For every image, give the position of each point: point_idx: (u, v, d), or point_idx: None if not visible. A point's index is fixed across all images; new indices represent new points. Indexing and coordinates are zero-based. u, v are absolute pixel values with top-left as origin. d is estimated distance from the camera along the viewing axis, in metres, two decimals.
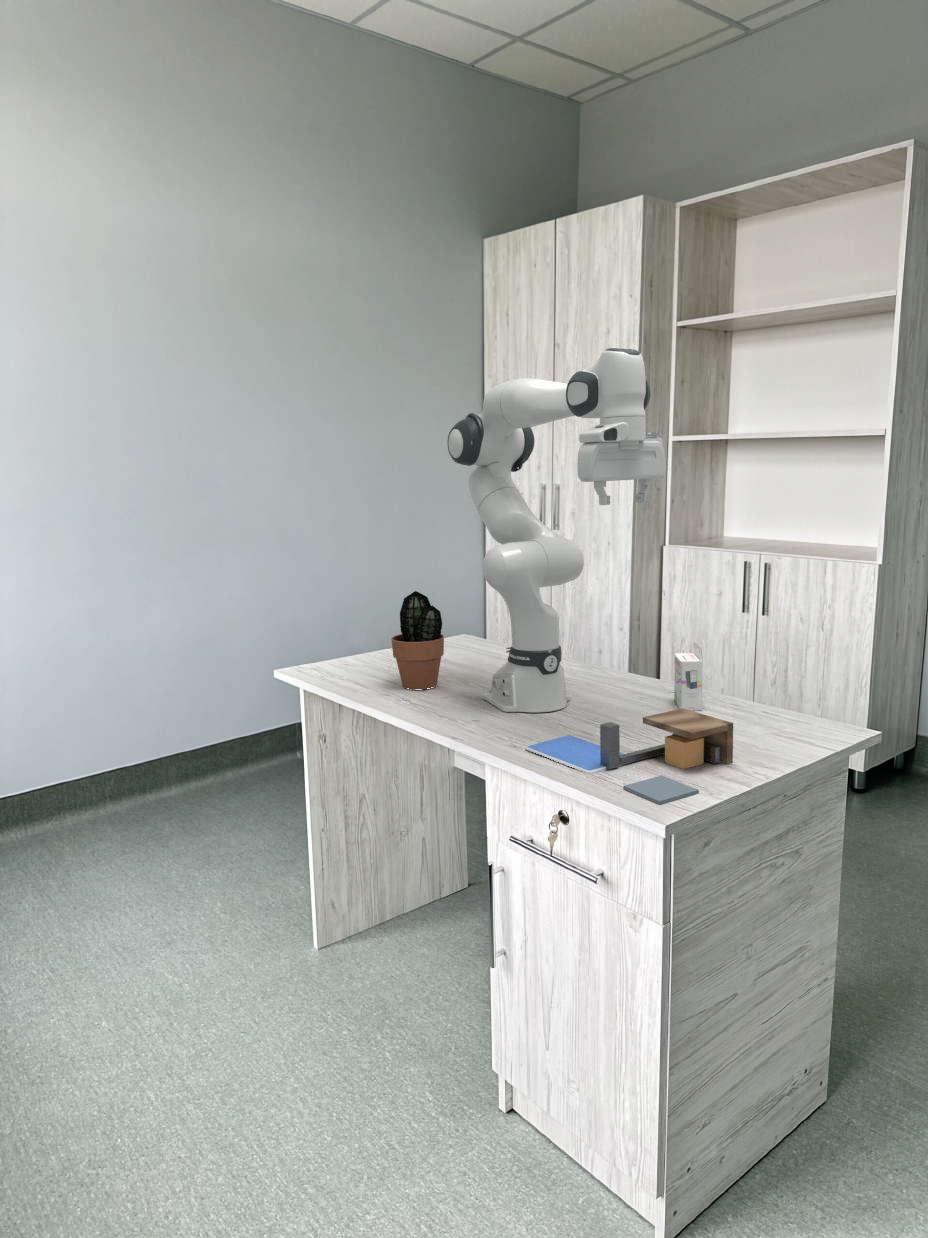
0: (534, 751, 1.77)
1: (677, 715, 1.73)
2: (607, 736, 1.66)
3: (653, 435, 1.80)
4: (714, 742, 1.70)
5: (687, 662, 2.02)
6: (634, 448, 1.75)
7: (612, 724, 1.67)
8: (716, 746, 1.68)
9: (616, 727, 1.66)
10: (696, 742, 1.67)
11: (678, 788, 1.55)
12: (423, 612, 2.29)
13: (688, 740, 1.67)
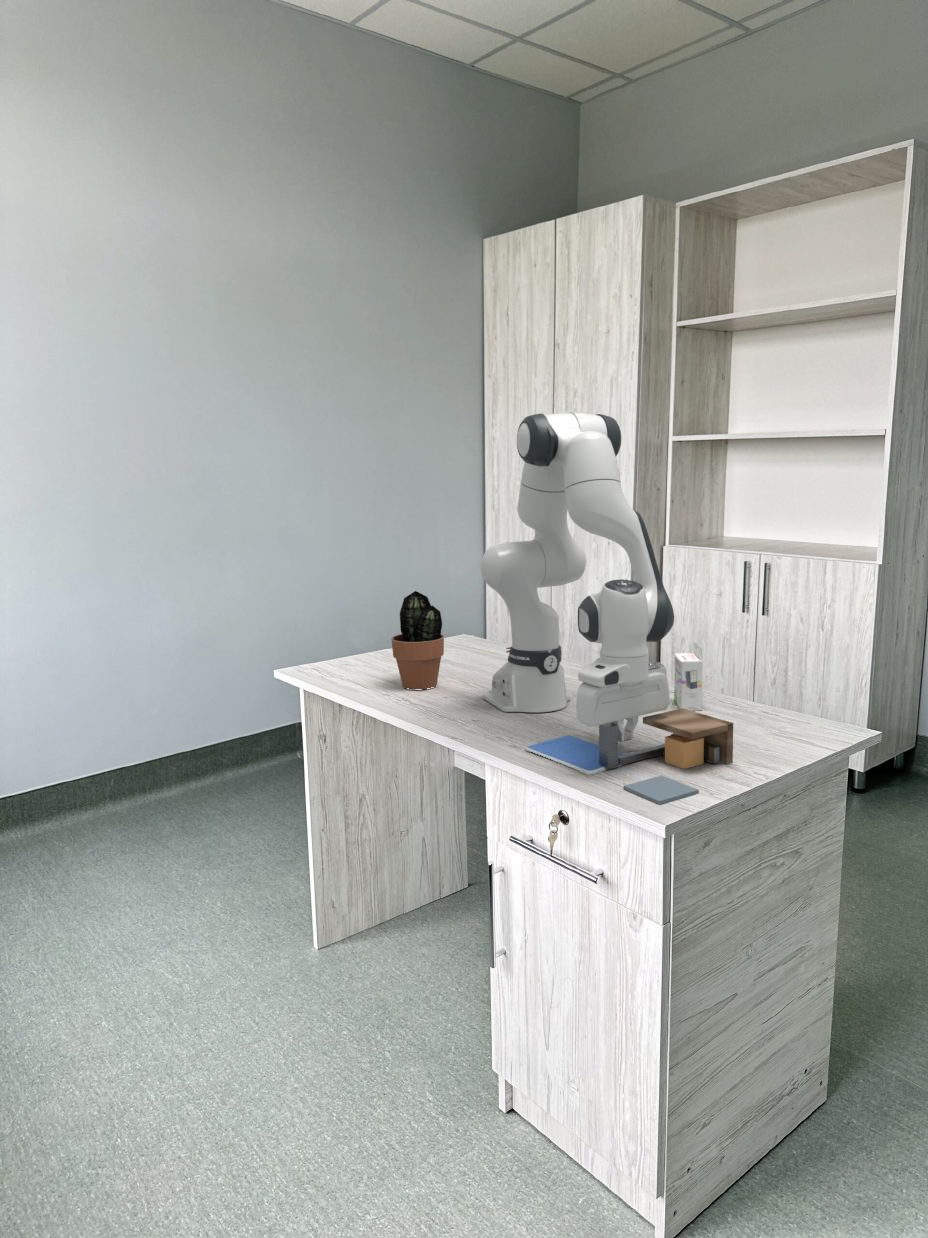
0: (534, 751, 1.77)
1: (677, 715, 1.73)
2: (605, 736, 1.66)
3: (656, 666, 1.70)
4: (714, 742, 1.70)
5: (687, 662, 2.02)
6: (636, 687, 1.65)
7: (611, 724, 1.67)
8: (715, 746, 1.68)
9: (615, 727, 1.66)
10: (696, 742, 1.67)
11: (678, 788, 1.55)
12: (423, 612, 2.29)
13: (688, 740, 1.67)
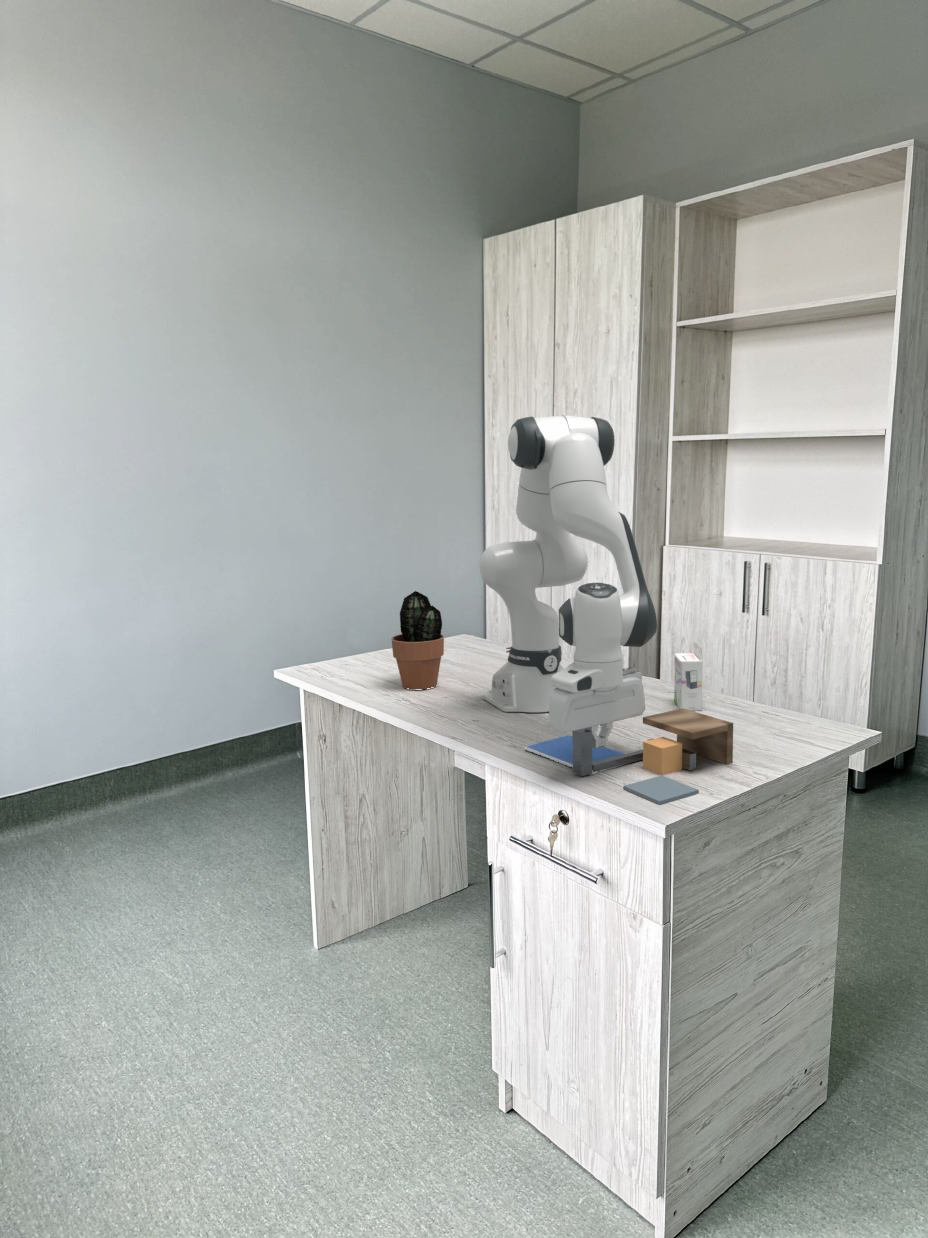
0: (534, 751, 1.77)
1: (677, 715, 1.73)
2: (579, 742, 1.62)
3: (631, 671, 1.67)
4: (714, 742, 1.70)
5: (687, 662, 2.02)
6: (610, 693, 1.62)
7: (585, 730, 1.63)
8: (691, 753, 1.65)
9: (588, 733, 1.63)
10: (675, 747, 1.64)
11: (678, 788, 1.55)
12: (423, 612, 2.29)
13: (666, 745, 1.64)
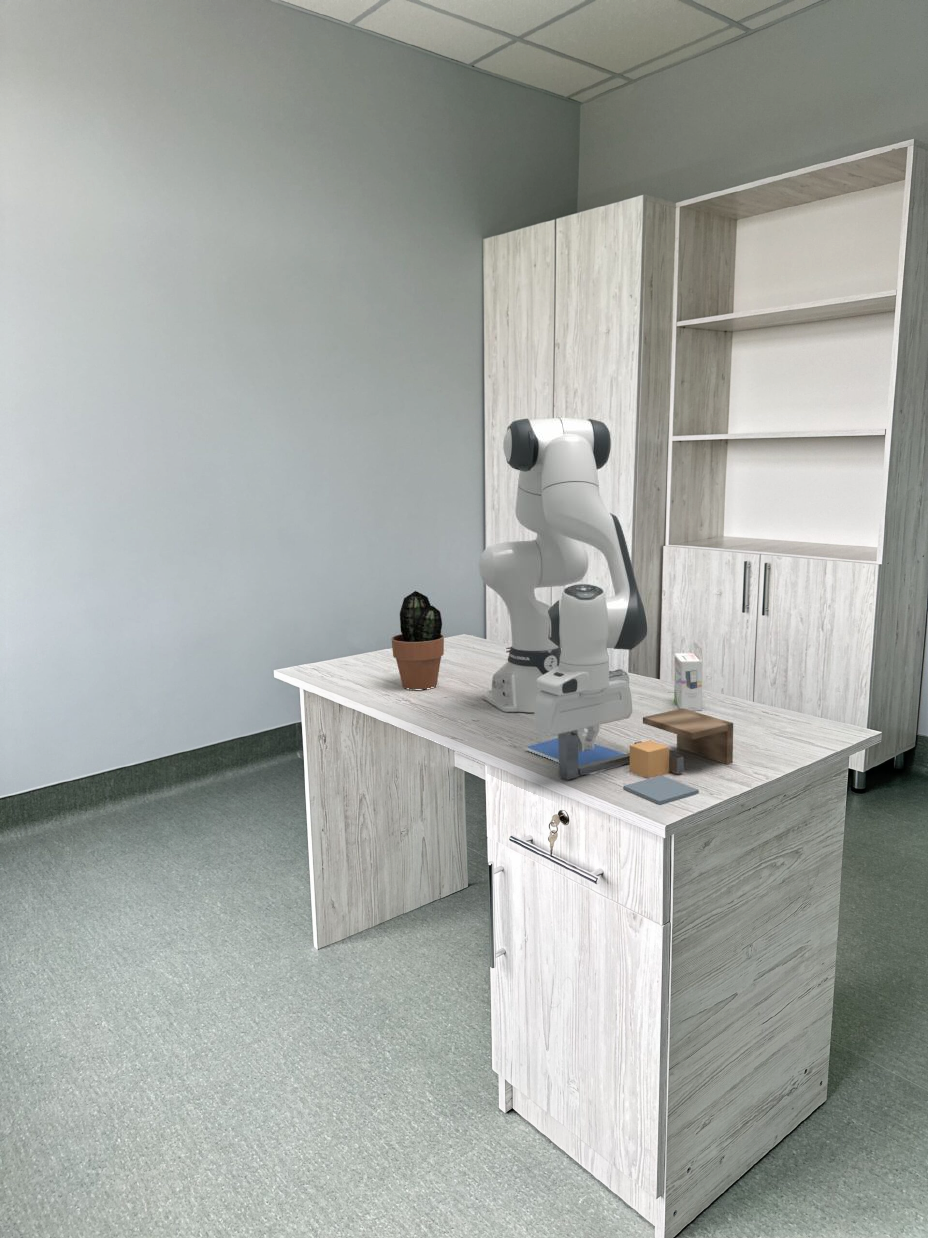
0: (534, 751, 1.77)
1: (677, 715, 1.73)
2: (565, 745, 1.61)
3: (618, 673, 1.65)
4: (714, 742, 1.70)
5: (687, 662, 2.02)
6: (596, 696, 1.60)
7: (571, 734, 1.62)
8: (678, 756, 1.63)
9: (574, 737, 1.61)
10: (661, 751, 1.63)
11: (678, 788, 1.55)
12: (423, 612, 2.29)
13: (653, 749, 1.62)
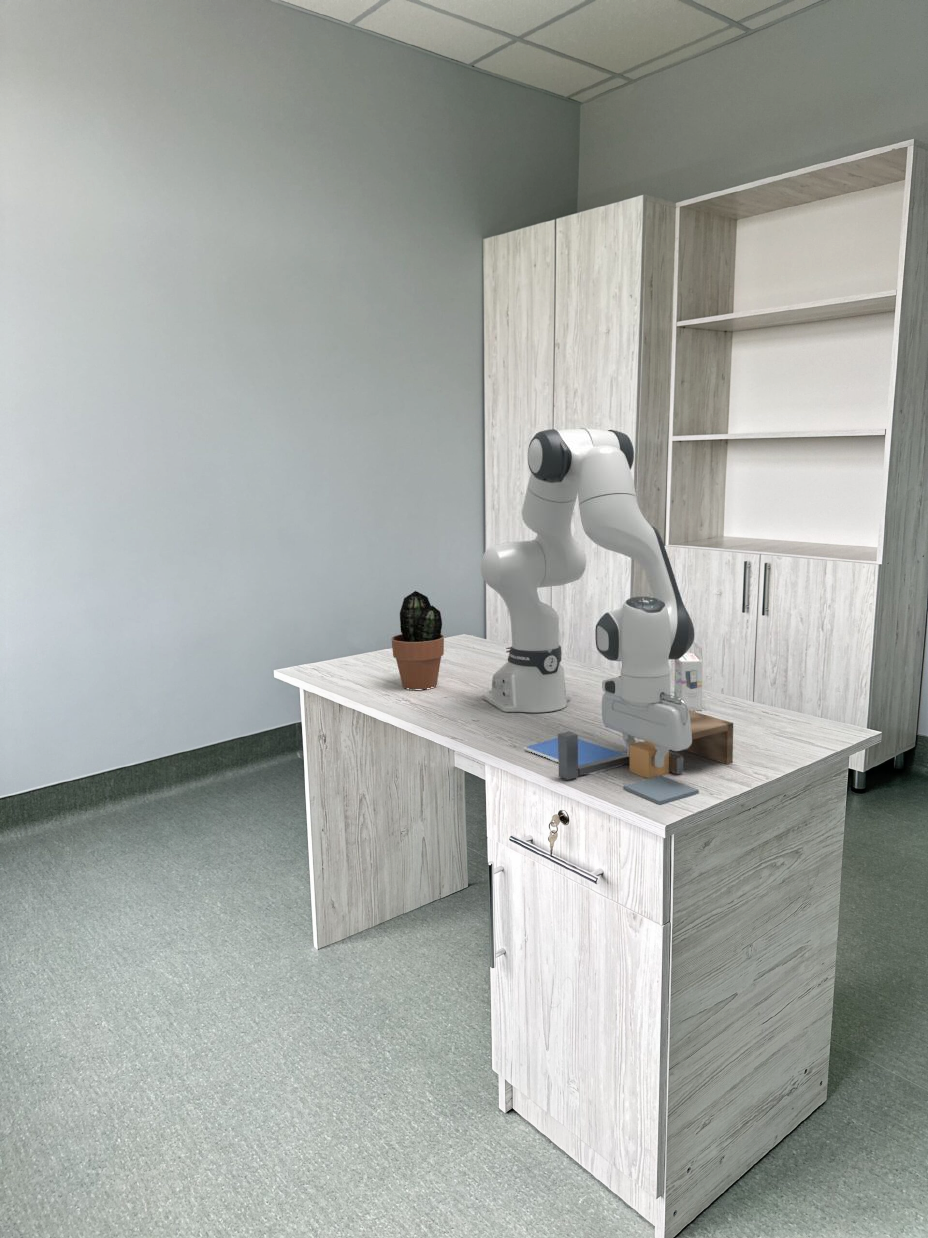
0: (533, 751, 1.77)
1: None
2: (564, 745, 1.61)
3: (673, 700, 1.55)
4: (714, 742, 1.70)
5: (687, 662, 2.02)
6: (633, 708, 1.61)
7: (570, 734, 1.62)
8: (678, 756, 1.63)
9: (574, 737, 1.61)
10: None
11: (678, 788, 1.55)
12: (423, 612, 2.29)
13: (653, 748, 1.62)
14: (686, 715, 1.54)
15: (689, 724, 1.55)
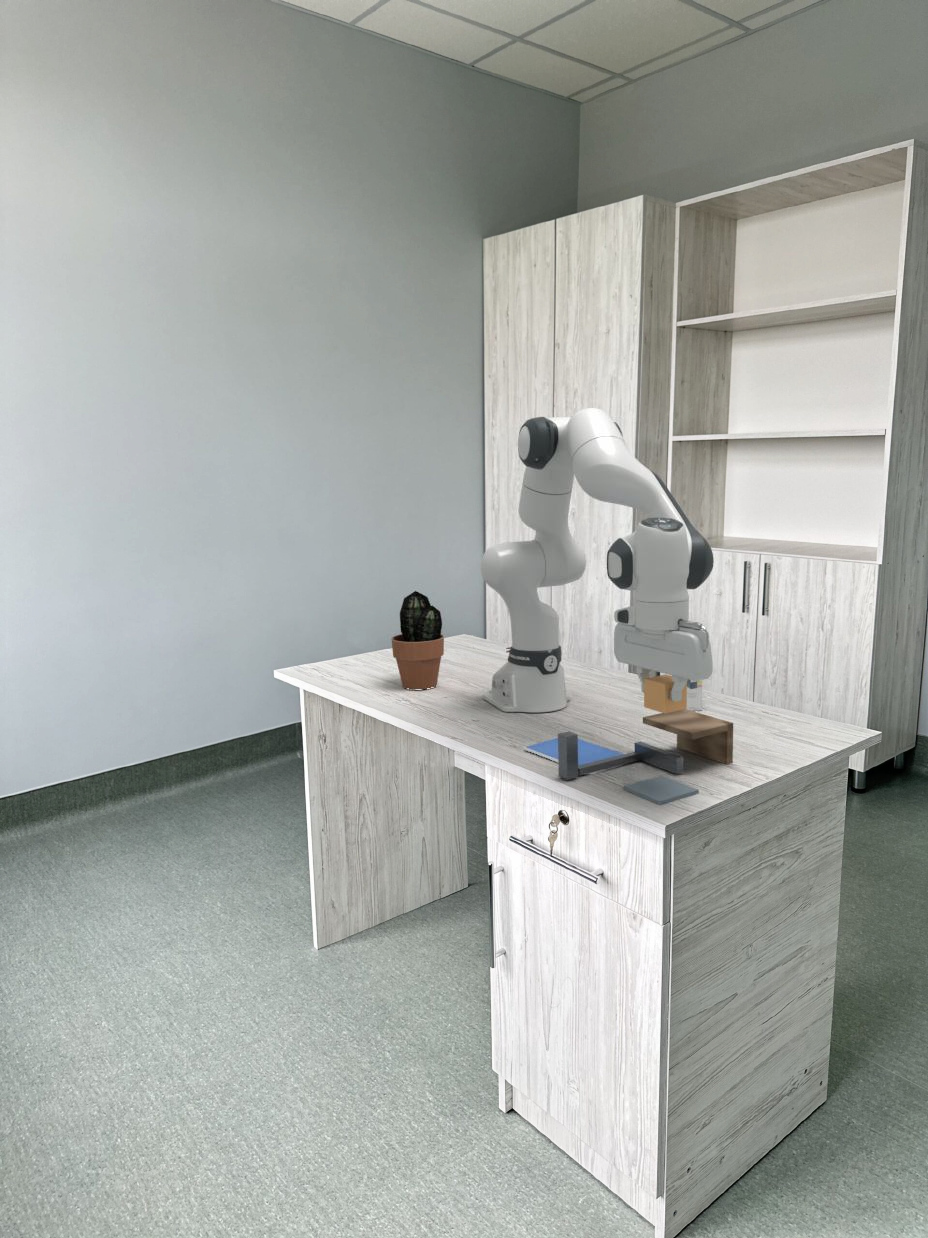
0: (533, 751, 1.77)
1: (677, 715, 1.73)
2: (564, 745, 1.61)
3: (692, 626, 1.44)
4: (714, 742, 1.70)
5: None
6: (648, 637, 1.49)
7: (570, 734, 1.62)
8: (678, 756, 1.63)
9: (574, 737, 1.61)
10: None
11: (678, 788, 1.55)
12: (423, 612, 2.29)
13: (669, 681, 1.51)
14: (706, 641, 1.42)
15: (710, 652, 1.43)
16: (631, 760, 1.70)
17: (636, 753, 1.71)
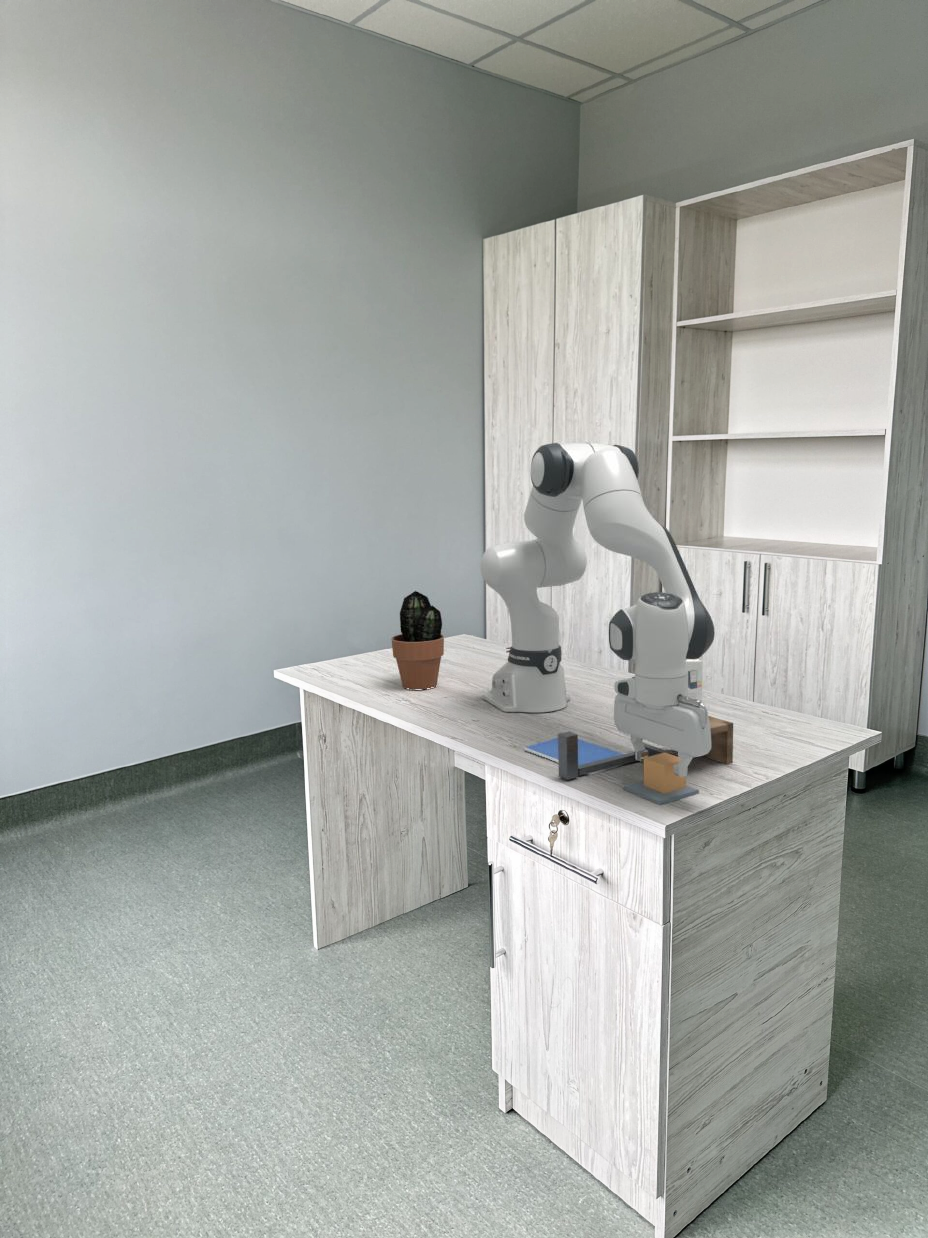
0: (533, 752, 1.77)
1: None
2: (564, 745, 1.61)
3: (691, 703, 1.46)
4: (714, 742, 1.70)
5: (687, 662, 2.02)
6: (648, 711, 1.51)
7: (570, 734, 1.62)
8: None
9: (574, 737, 1.61)
10: None
11: None
12: (423, 612, 2.29)
13: (669, 762, 1.53)
14: (705, 719, 1.44)
15: (708, 728, 1.46)
16: (631, 760, 1.70)
17: None
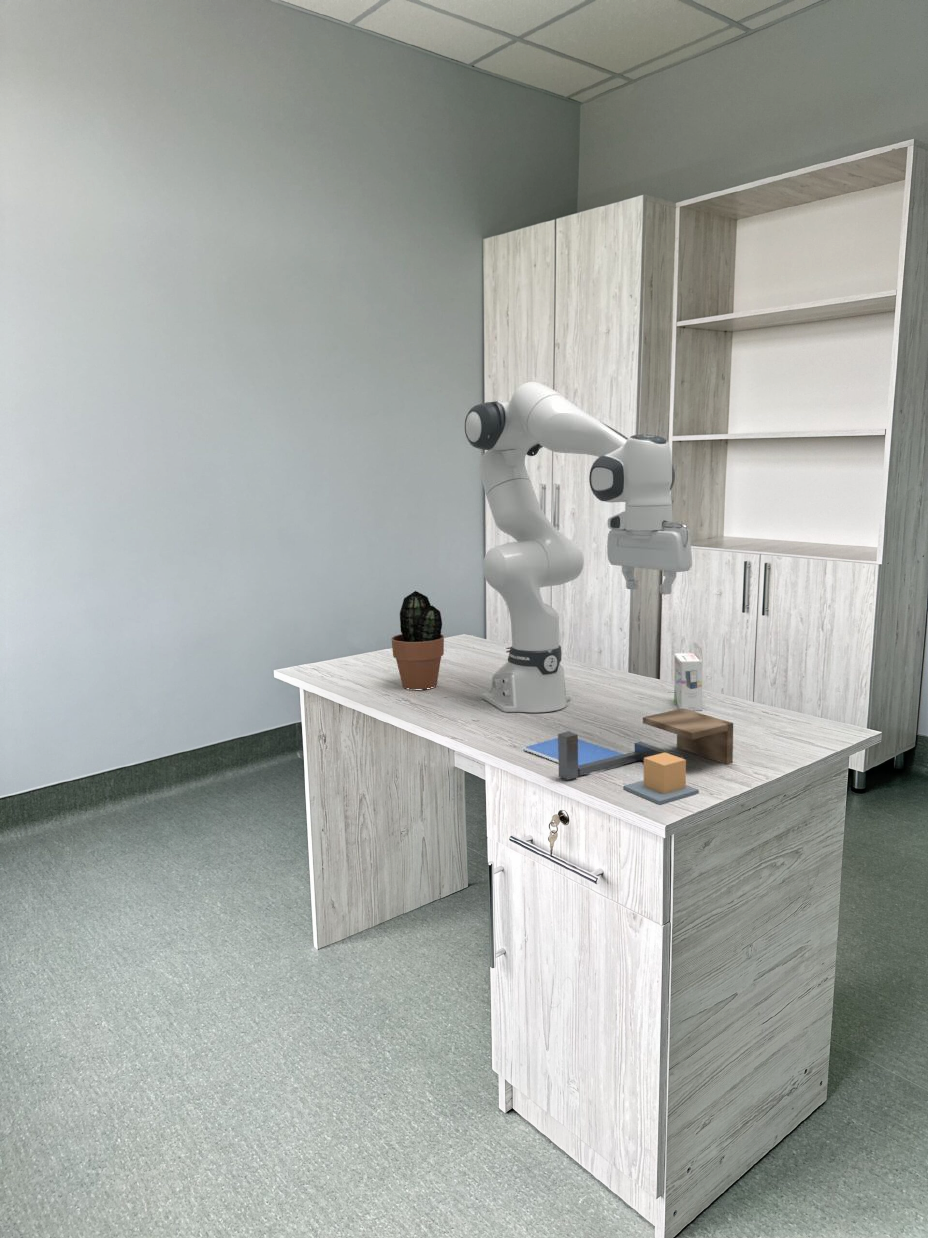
0: (533, 752, 1.77)
1: (677, 715, 1.73)
2: (564, 745, 1.61)
3: (674, 525, 1.67)
4: (714, 742, 1.70)
5: (687, 662, 2.02)
6: (637, 537, 1.72)
7: (570, 734, 1.62)
8: (678, 756, 1.63)
9: (574, 737, 1.61)
10: (678, 764, 1.53)
11: None
12: (423, 612, 2.29)
13: (669, 762, 1.53)
14: (686, 537, 1.65)
15: (689, 547, 1.66)
16: (631, 760, 1.70)
17: (636, 753, 1.71)
